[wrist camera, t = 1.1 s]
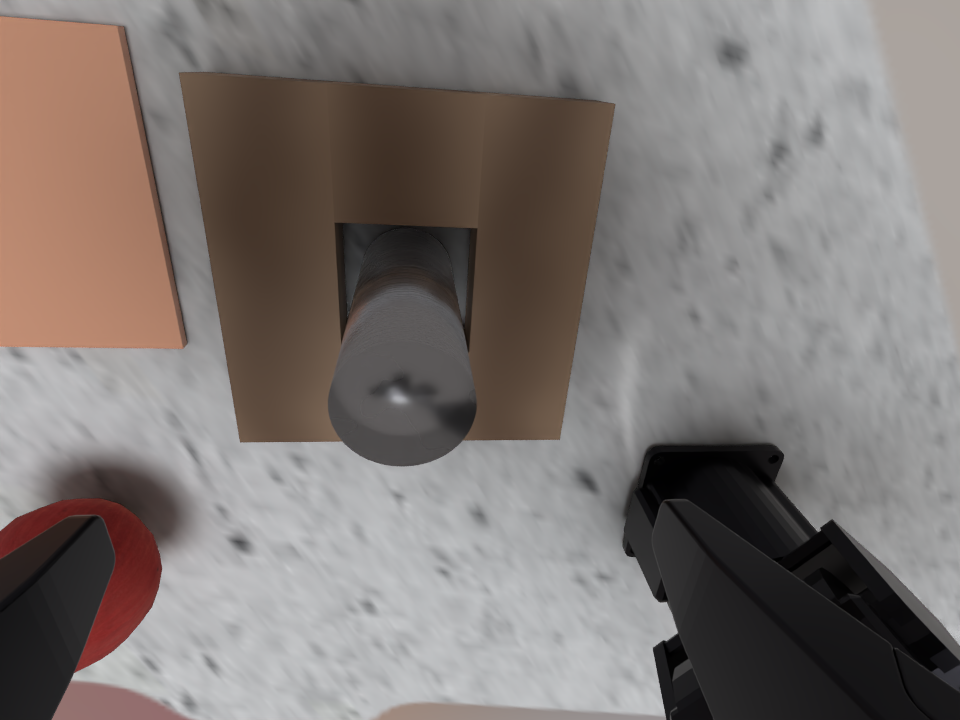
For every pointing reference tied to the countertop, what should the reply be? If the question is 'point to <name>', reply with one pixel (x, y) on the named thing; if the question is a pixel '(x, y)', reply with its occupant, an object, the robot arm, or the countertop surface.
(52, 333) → the tile
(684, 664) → the robot arm
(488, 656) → the countertop surface
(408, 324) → the peg
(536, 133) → the plate
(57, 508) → the onion
